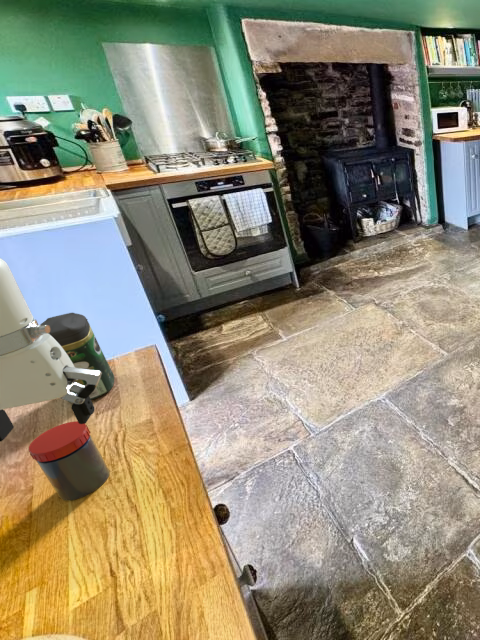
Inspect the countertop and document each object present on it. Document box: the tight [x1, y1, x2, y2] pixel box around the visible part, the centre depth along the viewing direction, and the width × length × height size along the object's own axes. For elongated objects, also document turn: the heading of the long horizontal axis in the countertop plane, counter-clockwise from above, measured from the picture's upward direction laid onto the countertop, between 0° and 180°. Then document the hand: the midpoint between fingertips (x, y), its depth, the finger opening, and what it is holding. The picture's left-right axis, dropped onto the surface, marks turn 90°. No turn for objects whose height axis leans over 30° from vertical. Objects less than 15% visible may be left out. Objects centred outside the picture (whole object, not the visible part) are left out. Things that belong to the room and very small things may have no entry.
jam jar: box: [36, 434, 111, 502], centre depth 69 cm, size 6×6×11 cm
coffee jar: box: [39, 312, 115, 404], centre depth 88 cm, size 10×8×19 cm
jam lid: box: [28, 420, 91, 462], centre depth 67 cm, size 7×7×2 cm
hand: (47, 426), depth 65 cm, fingers open, 9 cm apart
